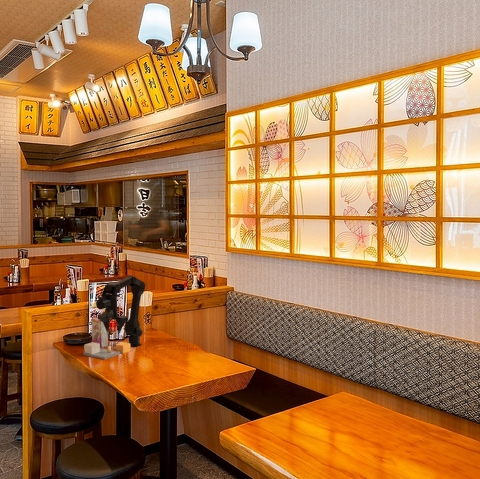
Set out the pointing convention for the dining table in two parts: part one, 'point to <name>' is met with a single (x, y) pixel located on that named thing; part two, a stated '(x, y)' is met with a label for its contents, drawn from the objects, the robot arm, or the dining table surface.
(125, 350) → the light orange block
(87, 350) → the board
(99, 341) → the candy bar box
